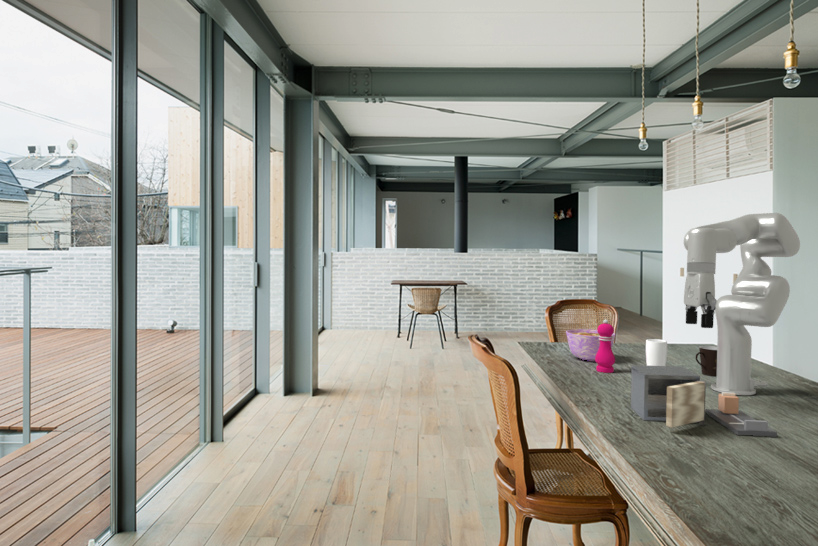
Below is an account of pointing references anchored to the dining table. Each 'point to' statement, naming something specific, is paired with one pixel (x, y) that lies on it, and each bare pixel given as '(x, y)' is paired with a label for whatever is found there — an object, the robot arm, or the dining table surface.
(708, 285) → the robot arm
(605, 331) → the pepper mill
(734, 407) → the knob
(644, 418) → the cabinet
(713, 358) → the coffee mug
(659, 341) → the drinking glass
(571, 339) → the bowl of food
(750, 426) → the panel
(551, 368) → the dining table surface
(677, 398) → the door
